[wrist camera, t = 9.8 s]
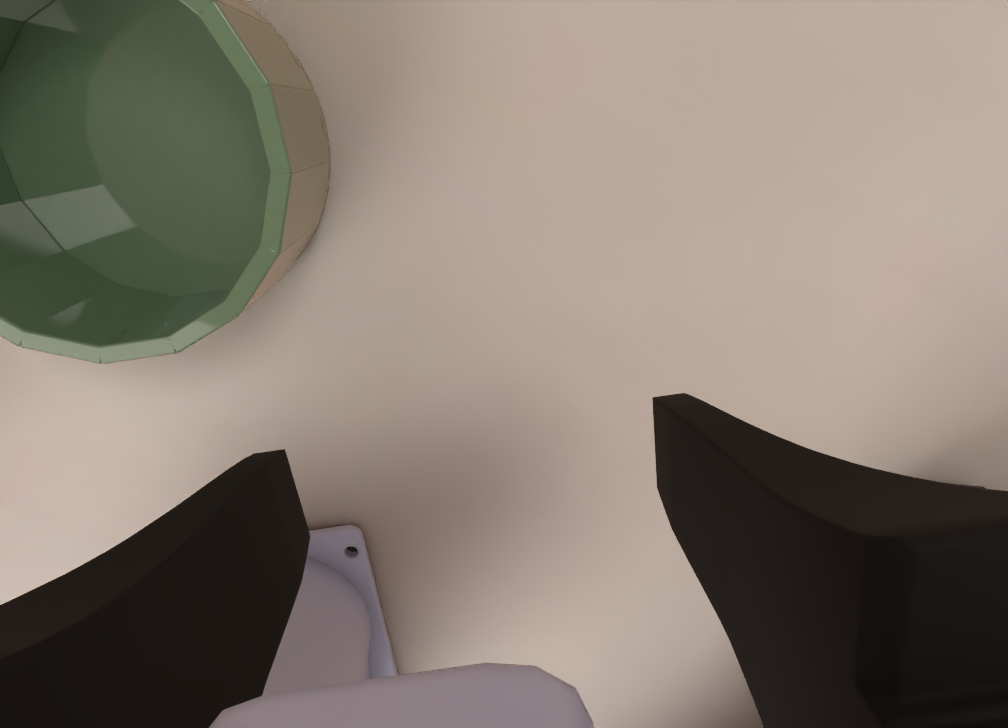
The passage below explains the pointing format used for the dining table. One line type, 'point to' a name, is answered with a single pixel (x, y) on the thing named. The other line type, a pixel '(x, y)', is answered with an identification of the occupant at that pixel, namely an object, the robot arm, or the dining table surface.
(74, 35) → the sage cup
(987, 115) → the dining table surface
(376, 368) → the dining table surface
